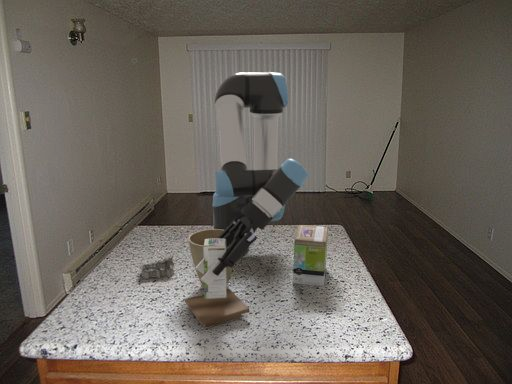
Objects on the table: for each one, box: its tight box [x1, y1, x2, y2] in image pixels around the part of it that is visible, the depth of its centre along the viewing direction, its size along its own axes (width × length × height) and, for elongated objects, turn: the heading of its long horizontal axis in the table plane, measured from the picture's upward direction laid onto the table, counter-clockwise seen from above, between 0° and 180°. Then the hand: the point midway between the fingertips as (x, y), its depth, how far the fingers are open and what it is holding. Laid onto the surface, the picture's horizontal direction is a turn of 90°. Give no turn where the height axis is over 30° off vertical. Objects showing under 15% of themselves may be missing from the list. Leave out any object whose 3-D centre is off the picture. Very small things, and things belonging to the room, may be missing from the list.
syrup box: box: [203, 238, 228, 299], centre depth 103 cm, size 6×6×14 cm
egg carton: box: [140, 257, 175, 280], centre depth 130 cm, size 11×8×4 cm
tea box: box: [292, 224, 329, 287], centre depth 127 cm, size 15×10×15 cm
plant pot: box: [187, 228, 234, 289], centre depth 120 cm, size 15×15×16 cm
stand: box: [184, 287, 250, 329], centre depth 105 cm, size 13×13×3 cm
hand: (202, 276), depth 102 cm, fingers closed on syrup box, 7 cm apart
